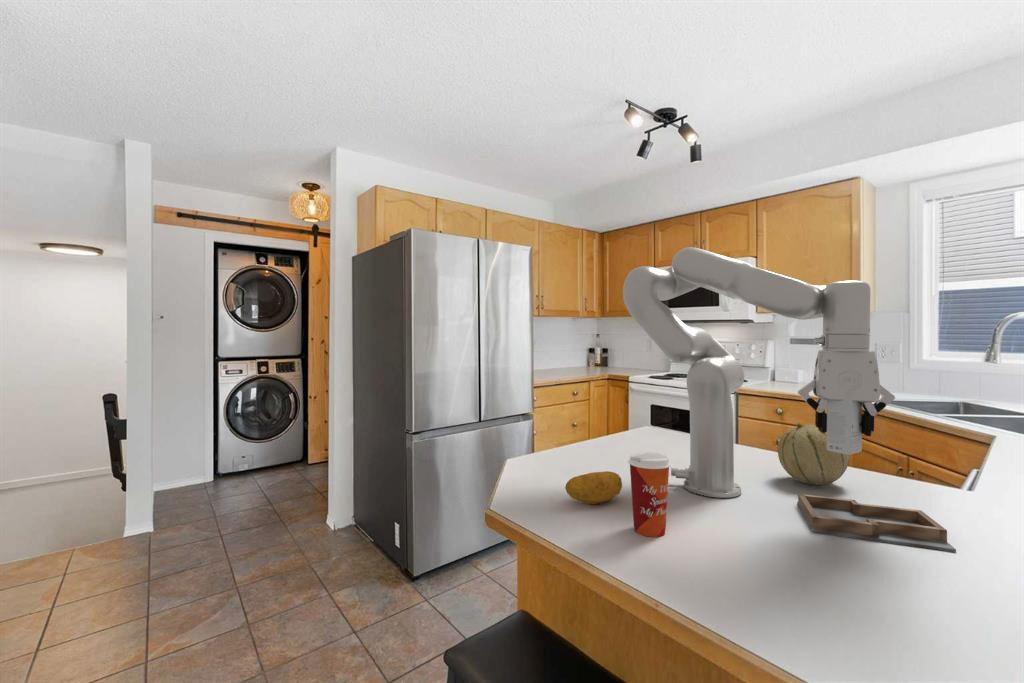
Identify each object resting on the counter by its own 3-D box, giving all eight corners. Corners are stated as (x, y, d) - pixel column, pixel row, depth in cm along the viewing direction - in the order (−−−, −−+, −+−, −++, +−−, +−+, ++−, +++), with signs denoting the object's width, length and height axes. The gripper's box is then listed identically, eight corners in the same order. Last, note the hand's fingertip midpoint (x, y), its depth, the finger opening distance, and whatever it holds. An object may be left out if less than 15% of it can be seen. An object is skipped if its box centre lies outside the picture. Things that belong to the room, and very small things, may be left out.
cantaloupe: (865, 491, 105) (864, 427, 105) (810, 494, 102) (809, 429, 102) (813, 473, 119) (812, 417, 119) (764, 476, 117) (763, 419, 117)
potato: (631, 504, 97) (631, 473, 97) (575, 512, 92) (575, 479, 92) (611, 492, 104) (611, 464, 104) (559, 500, 100) (558, 470, 100)
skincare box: (851, 455, 85) (852, 392, 85) (824, 450, 89) (825, 390, 88) (863, 451, 88) (864, 390, 88) (836, 446, 92) (837, 388, 92)
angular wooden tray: (813, 532, 82) (813, 518, 82) (797, 503, 97) (797, 492, 97) (956, 552, 74) (955, 537, 74) (914, 517, 89) (914, 505, 89)
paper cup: (649, 543, 78) (648, 463, 78) (619, 527, 85) (619, 454, 85) (681, 534, 82) (680, 458, 82) (650, 519, 88) (649, 449, 88)
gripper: (798, 343, 88) (797, 433, 88) (908, 344, 82) (906, 441, 82) (790, 342, 95) (789, 426, 95) (891, 344, 89) (889, 433, 89)
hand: (843, 432), depth 89 cm, fingers closed on skincare box, 6 cm apart
